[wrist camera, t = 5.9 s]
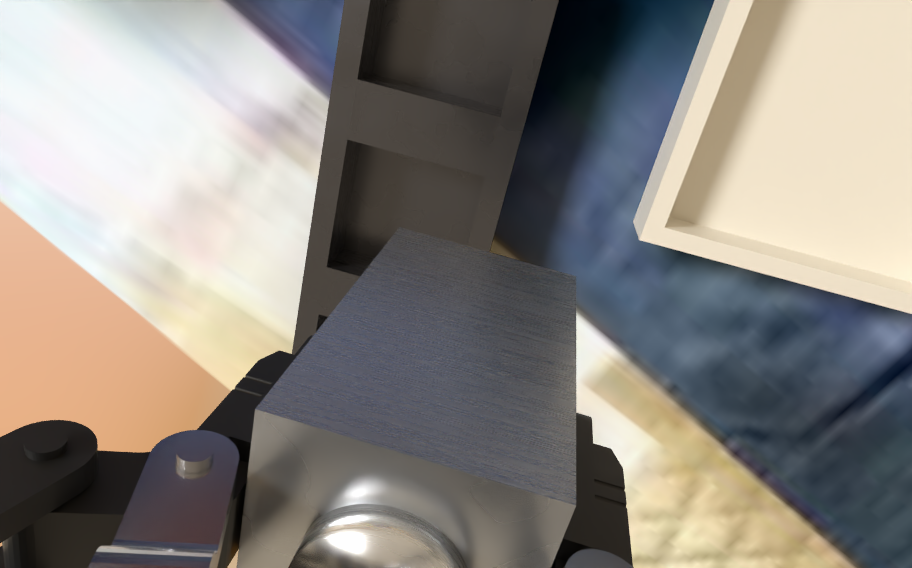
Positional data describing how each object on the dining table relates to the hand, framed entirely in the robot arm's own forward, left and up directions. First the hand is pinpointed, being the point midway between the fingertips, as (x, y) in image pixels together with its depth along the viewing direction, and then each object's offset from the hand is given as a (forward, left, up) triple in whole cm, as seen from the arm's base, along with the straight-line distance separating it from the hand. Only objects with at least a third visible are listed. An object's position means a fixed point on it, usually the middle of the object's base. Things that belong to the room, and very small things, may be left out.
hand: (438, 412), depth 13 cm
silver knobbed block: (0, 0, -4) cm, 4 cm away
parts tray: (-13, -7, -18) cm, 24 cm away
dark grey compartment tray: (+4, +2, -18) cm, 19 cm away
